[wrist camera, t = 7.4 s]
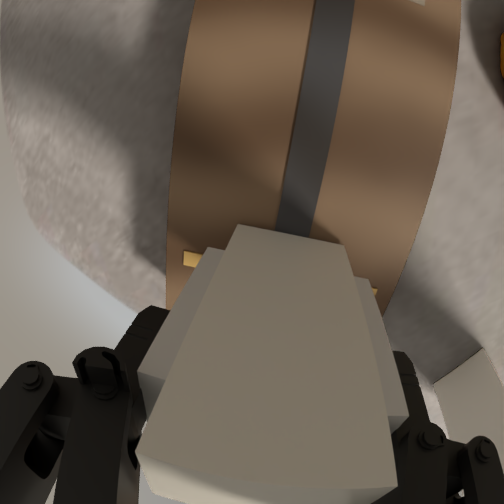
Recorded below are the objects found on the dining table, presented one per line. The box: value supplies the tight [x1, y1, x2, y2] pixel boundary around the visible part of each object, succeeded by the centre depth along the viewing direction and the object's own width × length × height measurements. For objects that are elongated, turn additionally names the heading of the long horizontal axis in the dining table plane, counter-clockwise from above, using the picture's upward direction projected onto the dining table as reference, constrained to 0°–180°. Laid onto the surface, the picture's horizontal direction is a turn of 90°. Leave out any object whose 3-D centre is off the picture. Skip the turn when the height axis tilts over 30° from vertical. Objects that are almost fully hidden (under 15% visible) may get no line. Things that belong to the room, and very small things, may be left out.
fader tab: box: [135, 224, 398, 504], centre depth 10 cm, size 3×5×11 cm, turn 81°
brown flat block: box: [166, 0, 461, 317], centre depth 14 cm, size 24×12×4 cm, turn 171°
